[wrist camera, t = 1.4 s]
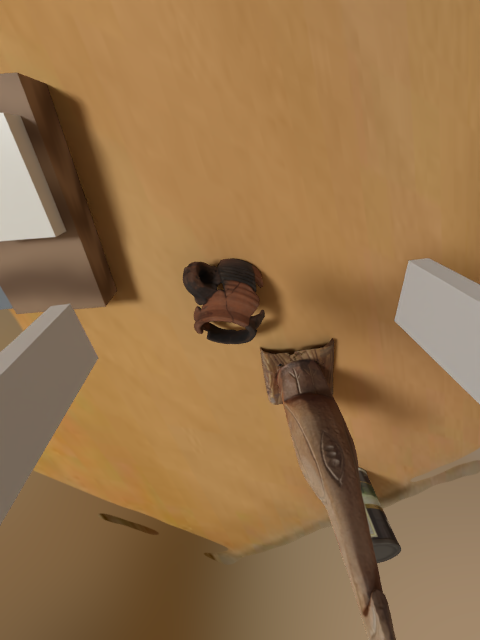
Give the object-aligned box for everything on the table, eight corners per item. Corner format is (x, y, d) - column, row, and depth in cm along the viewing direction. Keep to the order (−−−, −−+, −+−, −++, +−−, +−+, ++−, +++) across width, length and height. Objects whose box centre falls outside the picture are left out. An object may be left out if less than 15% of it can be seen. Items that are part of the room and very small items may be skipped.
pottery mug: (281, 281, 35) (279, 338, 32) (230, 303, 41) (223, 353, 38) (214, 224, 28) (201, 288, 24) (164, 260, 34) (147, 316, 30)
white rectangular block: (-57, 120, 21) (-81, 118, 19) (20, 115, 21) (2, 112, 20) (3, 236, 26) (-12, 242, 24) (66, 231, 26) (55, 236, 24)
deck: (-71, 91, 23) (-121, 81, 20) (46, 84, 23) (17, 72, 20) (37, 297, 34) (16, 313, 30) (116, 291, 34) (105, 306, 31)
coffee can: (371, 464, 60) (409, 542, 48) (360, 488, 66) (392, 562, 54) (326, 467, 60) (353, 546, 48) (319, 491, 65) (341, 567, 53)
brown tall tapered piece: (330, 331, 40) (563, 703, 13) (333, 386, 46) (494, 723, 18) (257, 345, 41) (323, 728, 13) (268, 398, 47) (331, 739, 19)
